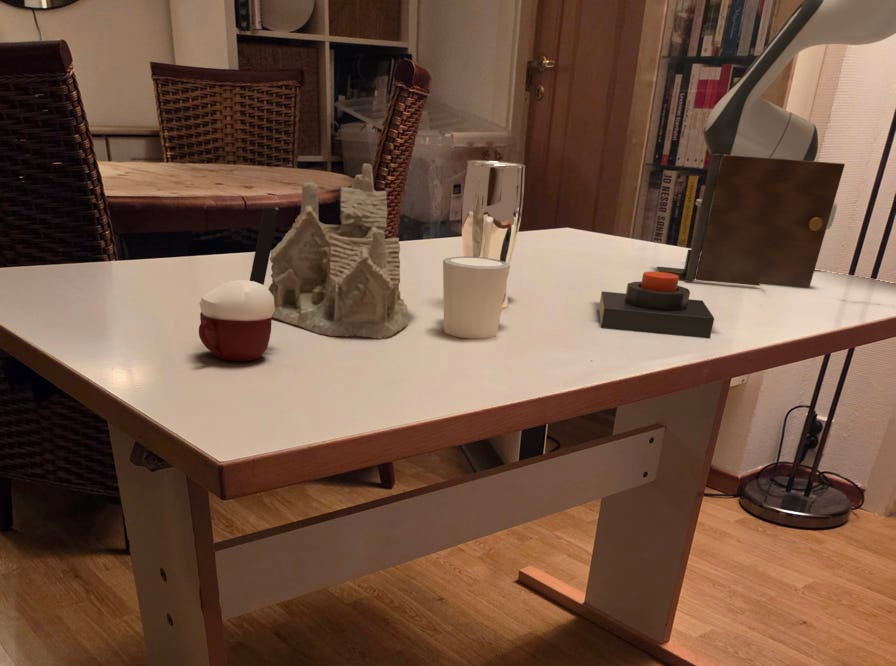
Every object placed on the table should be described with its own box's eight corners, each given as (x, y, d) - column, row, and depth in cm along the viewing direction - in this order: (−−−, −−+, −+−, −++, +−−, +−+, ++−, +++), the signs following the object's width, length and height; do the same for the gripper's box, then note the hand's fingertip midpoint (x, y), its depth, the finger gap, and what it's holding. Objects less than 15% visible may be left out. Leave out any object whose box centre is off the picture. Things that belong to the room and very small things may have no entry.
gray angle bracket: (690, 276, 130) (697, 248, 128) (694, 281, 127) (700, 251, 125) (655, 273, 131) (661, 244, 129) (657, 278, 128) (663, 248, 125)
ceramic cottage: (273, 296, 100) (272, 148, 91) (414, 313, 99) (427, 166, 90) (238, 336, 87) (233, 169, 78) (399, 356, 87) (412, 191, 78)
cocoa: (208, 371, 73) (197, 216, 67) (179, 353, 78) (166, 205, 71) (306, 359, 78) (304, 214, 72) (273, 343, 83) (269, 204, 76)
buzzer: (698, 319, 104) (706, 284, 102) (709, 338, 96) (718, 300, 93) (598, 310, 105) (604, 275, 103) (600, 328, 97) (607, 290, 95)
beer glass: (497, 298, 108) (512, 161, 100) (520, 310, 102) (537, 167, 94) (445, 298, 106) (456, 158, 98) (466, 310, 100) (478, 164, 92)
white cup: (428, 325, 93) (432, 255, 89) (485, 323, 95) (492, 255, 91) (453, 341, 87) (459, 267, 84) (513, 339, 90) (522, 267, 86)
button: (673, 289, 100) (677, 273, 99) (677, 296, 96) (681, 279, 96) (639, 286, 100) (642, 270, 99) (641, 292, 97) (644, 276, 96)
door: (806, 288, 125) (842, 163, 117) (810, 291, 123) (847, 164, 114) (684, 277, 127) (711, 153, 118) (686, 280, 125) (713, 154, 116)
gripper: (698, 179, 141) (710, 186, 129) (827, 189, 139) (850, 197, 127) (689, 221, 144) (700, 232, 133) (815, 232, 142) (837, 243, 131)
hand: (775, 215), depth 130 cm, fingers closed
